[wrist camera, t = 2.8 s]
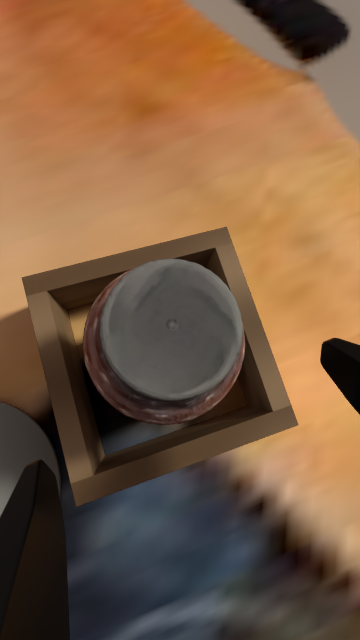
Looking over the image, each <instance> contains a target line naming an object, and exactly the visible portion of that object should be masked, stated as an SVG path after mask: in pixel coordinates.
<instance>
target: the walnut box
mask: <svg viewBox="0 0 360 640" xmlns="http://www.w3.org/2000/svg"><path fill="white" fill-rule="evenodd" d="M161 259H181V260H186V261H189V262H193V263H197V264H199V265H201V266H203V267H205V268H206V269H208V270H210V271H212V272H213V273H214V274H215V275H217V276H218V277H219V278H220V279H221V280H222V281H223V282H224V283H225V284H226V285H227V287H228V288H229V290H230V291H231V293H232V295H233V296H234V297H235V299H236V302H237V305H238V308H239V310H240V313H241V319H242V323H243V327H244V336H245V352H244V359H243V362H242V366H241V370H240V372H239V375H238V378H239V381H240V384H241V387H242V390H243V393H244V396H245V399H246V402H247V405H248V406H247V407H244V408H241V409H238V410H235V411H232V412H229V413H226V414H224V415H221V416H218V417H215V418H212V419H209V420H206V421H203V422H201V423H198V424H195V425H192V426H189V427H186V428H183V429H180V430H178V431H175V432H172V433H169V434H166V435H163V436H160V437H157V438H155V439H152V440H149V441H146V442H143V443H140V444H137V445H134V446H132V447H129V448H126V449H123V450H120V451H117V452H114V453H111V454H109V455H106V456H105V455H104V451H103V447H102V443H101V439H100V435H99V432H98V428H97V424H96V420H95V416H94V412H93V408H92V405H91V401H90V397H89V393H88V389H87V385H86V381H85V377H84V374H83V370H82V366H81V362H80V358H79V354H78V350H77V346H76V343H75V339H74V335H73V331H72V327H71V323H70V319H69V316H68V312H67V309H71V308H75V307H78V306H82V305H86V304H89V303H93V302H95V300H96V298H97V297H98V296H99V294H100V293H101V292H102V291H103V290H104V288H105V287H106V286H107V285H108V284H109V283H111V282H112V281H113V280H114V279H116V278H117V277H119V276H120V275H122V274H123V273H125V272H127V271H129V270H131V269H133V268H136V267H138V266H141V265H142V264H145V263H147V262H151V261H156V260H161ZM22 281H23V285H24V289H25V293H26V298H27V302H28V306H29V310H30V314H31V319H32V323H33V327H34V331H35V335H36V340H37V344H38V348H39V352H40V356H41V361H42V365H43V369H44V373H45V377H46V382H47V386H48V390H49V394H50V399H51V403H52V407H53V411H54V415H55V420H56V424H57V428H58V432H59V436H60V441H61V445H62V449H63V453H64V457H65V462H66V466H67V470H68V474H69V478H70V483H71V487H72V491H73V495H74V499H75V504H76V507H77V506H80V505H83V504H85V503H88V502H91V501H94V500H96V499H99V498H102V497H104V496H107V495H110V494H113V493H115V492H118V491H121V490H123V489H126V488H129V487H132V486H134V485H137V484H140V483H142V482H145V481H148V480H151V479H153V478H156V477H159V476H161V475H164V474H167V473H170V472H172V471H175V470H178V469H180V468H183V467H186V466H189V465H191V464H194V463H197V462H199V461H202V460H205V459H208V458H210V457H213V456H216V455H218V454H221V453H224V452H227V451H229V450H232V449H235V448H237V447H240V446H243V445H246V444H248V443H251V442H254V441H256V440H259V439H262V438H265V437H267V436H270V435H273V434H275V433H278V432H281V431H284V430H286V429H289V428H292V427H294V426H297V425H298V423H297V420H296V417H295V414H294V411H293V409H292V406H291V403H290V400H289V398H288V395H287V392H286V389H285V387H284V384H283V381H282V378H281V376H280V373H279V370H278V367H277V365H276V362H275V359H274V356H273V354H272V351H271V348H270V345H269V342H268V340H267V337H266V334H265V331H264V329H263V326H262V323H261V320H260V318H259V315H258V312H257V309H256V307H255V304H254V301H253V298H252V296H251V293H250V290H249V287H248V285H247V282H246V279H245V276H244V274H243V271H242V268H241V265H240V262H239V260H238V257H237V254H236V251H235V249H234V246H233V243H232V240H231V238H230V235H229V232H228V229H227V227H224V228H220V229H215V230H211V231H207V232H203V233H199V234H195V235H191V236H187V237H183V238H179V239H175V240H171V241H167V242H163V243H159V244H155V245H151V246H147V247H143V248H139V249H135V250H131V251H127V252H123V253H119V254H115V255H111V256H107V257H103V258H99V259H94V260H90V261H86V262H82V263H78V264H74V265H70V266H66V267H62V268H58V269H54V270H50V271H46V272H42V273H38V274H34V275H30V276H26V277H22Z"/></svg>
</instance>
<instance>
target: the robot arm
mask: <svg viewBox="0 0 360 640" xmlns="http://www.w3.org/2000/svg"><path fill="white" fill-rule="evenodd" d="M320 361H321V365H322V366H323V368H324V369H325V371H326V372H327V373H328V375H329V376H330V377H331V379H332V380H333V381H334V383H335V384H336V385H337V387H338V388H339V389H340V391H341V392H342V393H343V395H344V396H345V398H346V399H347V400H348V401H349V403H350V404H351V405H352V406H353V407H354V409H355V410H356V411H357V412H358V413H359V414H360V345H357V344H354V343H351V342H348V341H345V340H342V339H339V338H332V339H329V340H327V341H324V342H323V344H322V349H321V358H320ZM0 640H70V631H69V606H68V582H67V557H66V538H65V530H64V523H63V516H62V510H61V503H60V497H59V490H58V484H57V479H56V476H55V474H54V472H53V471H52V470H51V469H50V468H49V466H48V465H47V464H46V463H45V462H44V461H43V460H41V459H39V460H37V461H34V462H32V463H29V464H27V465H26V466H25V468H24V469H23V471H22V473H21V475H20V477H19V479H18V481H17V483H16V486H15V488H14V490H13V492H12V494H11V496H10V498H9V500H8V502H7V504H6V506H5V508H4V510H3V512H2V514H1V516H0Z"/></svg>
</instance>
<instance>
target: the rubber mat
mask: <svg viewBox="0 0 360 640" xmlns="http://www.w3.org/2000/svg"><path fill="white" fill-rule="evenodd" d="M39 459H41V460H43V461H44V462H45V463H46V464H47V465H48V466H49V468H50V469H51V470H52V471H53V472H54V474H55V476H56V479H57V484H58V490H59V497H60V495H61V472H60V466H59V461H58V458H57V454H56V451H55V449H54V447H53V445H52V442H51V440H50V439H49V437H48V436H47V434H46V432H45V431H44V430H43V429H42V427H41V426H40V425H39V424H38V423H37V422H36V421H35V420H34V419H33V418H31V417H30V416H29V415H28V414H26V413H25V412H23V411H22V410H20V409H18V408H16V407H14V406H12V405H9V404H6V403H3V402H0V516H1V514H2V512H3V510H4V508H5V506H6V504H7V502H8V500H9V498H10V496H11V494H12V492H13V490H14V488H15V486H16V483H17V481H18V479H19V477H20V475H21V473H22V471H23V469H24V468H25V466H26V465H27V464H29V463H32V462H34V461H37V460H39Z"/></svg>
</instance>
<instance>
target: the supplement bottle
mask: <svg viewBox="0 0 360 640" xmlns="http://www.w3.org/2000/svg"><path fill="white" fill-rule="evenodd" d="M83 352H84V360H85V365H86V368H87V371H88V373H89V376H90V377H91V379H92V381H93V383H94V385H95V386H96V389H97V390H98V392H99V393H100V394H101V395H102V396H103V397H104V399H105V400H106V401H108V402H109V403H110V404H111V405H112V406H113V407H114V408H115V409H117V410H118V411H120V412H121V413H123V414H124V415H126V416H128V417H131V418H133V419H136V420H138V421H141V422H146V423H149V424H159V425H170V424H176V423H178V424H179V423H182V422H187V421H189V420H192V419H194V418H196V417H198V416H201V415H203V414H204V413H206V412H208V411H209V410H211V409H212V408H213V407H214V406H216V405H217V404H218V403H219V402H220V401H221V400H222V399H223V398H224V397H225V396H226V395H227V394H228V392H229V390H230V389H231V388H232V386H233V385H234V383H235V381H236V379H237V377H238V375H239V372H240V370H241V366H242V362H243V359H244V352H245V336H244V327H243V323H242V319H241V313H240V310H239V308H238V305H237V302H236V299H235V297H234V296H233V295H232V293H231V291H230V290H229V288H228V287H227V285H226V284H225V283H224V282H223V281H222V280H221V279H220V278H219V277H218V276H217V275H215V274H214V273H213V272H212V271H210V270H208V269H206V268H205V267H203V266H201V265H199V264H197V263H193V262H189V261H186V260H181V259H161V260H156V261H151V262H147V263H145V264H142V265H141V266H138V267H136V268H133V269H131V270H129V271H127V272H125V273H123V274H122V275H120V276H119V277H117V278H116V279H114V280H113V281H112V282H111V283H109V284H108V285H107V286H106V287H105V288H104V290H103V291H102V292H101V293H100V294H99V296H98V297H97V298H96V300H95V302H94V303H93V305H92V307H91V309H90V311H89V314H88V316H87V320H86V323H85V328H84V336H83Z"/></svg>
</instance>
